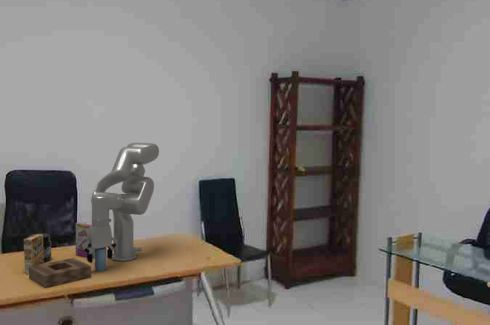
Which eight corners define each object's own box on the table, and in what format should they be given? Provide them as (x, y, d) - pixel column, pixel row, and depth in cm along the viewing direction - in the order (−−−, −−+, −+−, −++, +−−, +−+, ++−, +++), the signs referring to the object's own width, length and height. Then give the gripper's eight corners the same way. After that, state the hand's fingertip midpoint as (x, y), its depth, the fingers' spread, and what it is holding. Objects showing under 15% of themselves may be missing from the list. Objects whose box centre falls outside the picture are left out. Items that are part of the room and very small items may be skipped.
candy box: (32, 273, 215) (32, 239, 213) (23, 273, 216) (23, 238, 214) (44, 267, 224) (43, 234, 222) (35, 267, 224) (35, 234, 223)
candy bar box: (74, 255, 244) (74, 222, 242) (82, 253, 248) (82, 221, 246) (90, 259, 238) (90, 225, 237) (98, 256, 242) (98, 224, 241)
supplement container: (26, 258, 237) (26, 234, 235) (50, 256, 241) (49, 232, 240) (28, 264, 227) (27, 239, 226) (52, 262, 232) (52, 237, 231)
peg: (102, 267, 226) (102, 246, 225) (108, 270, 222) (108, 248, 221) (92, 269, 222) (92, 248, 221) (98, 272, 219) (98, 250, 218)
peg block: (73, 268, 223) (73, 257, 223) (91, 277, 212) (91, 265, 212) (28, 278, 209) (28, 266, 209) (45, 288, 198) (45, 275, 198)
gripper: (113, 219, 229) (112, 255, 230) (78, 223, 216) (77, 261, 218) (121, 221, 224) (121, 258, 225) (86, 226, 211) (86, 265, 212)
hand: (100, 260), depth 221 cm, fingers open, 9 cm apart
